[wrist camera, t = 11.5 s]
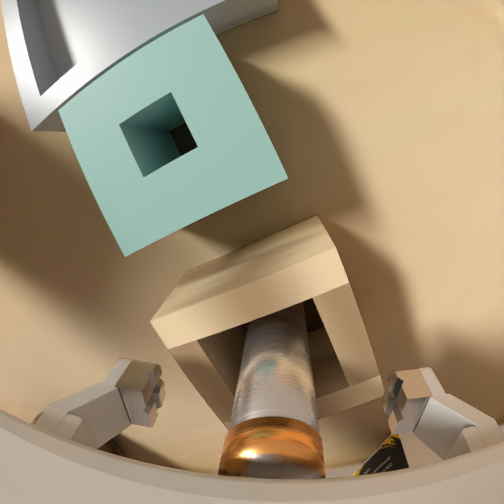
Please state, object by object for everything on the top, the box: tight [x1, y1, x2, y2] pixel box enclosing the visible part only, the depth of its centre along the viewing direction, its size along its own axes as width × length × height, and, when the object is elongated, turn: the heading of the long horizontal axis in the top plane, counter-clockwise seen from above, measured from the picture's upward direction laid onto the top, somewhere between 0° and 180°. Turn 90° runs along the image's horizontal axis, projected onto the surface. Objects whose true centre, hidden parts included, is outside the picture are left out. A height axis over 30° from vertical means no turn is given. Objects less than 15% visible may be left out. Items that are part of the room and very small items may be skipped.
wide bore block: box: [150, 215, 385, 430], centre depth 13 cm, size 7×7×5 cm
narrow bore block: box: [58, 14, 288, 257], centre depth 11 cm, size 6×6×5 cm
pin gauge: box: [218, 302, 325, 479], centre depth 11 cm, size 3×3×10 cm
